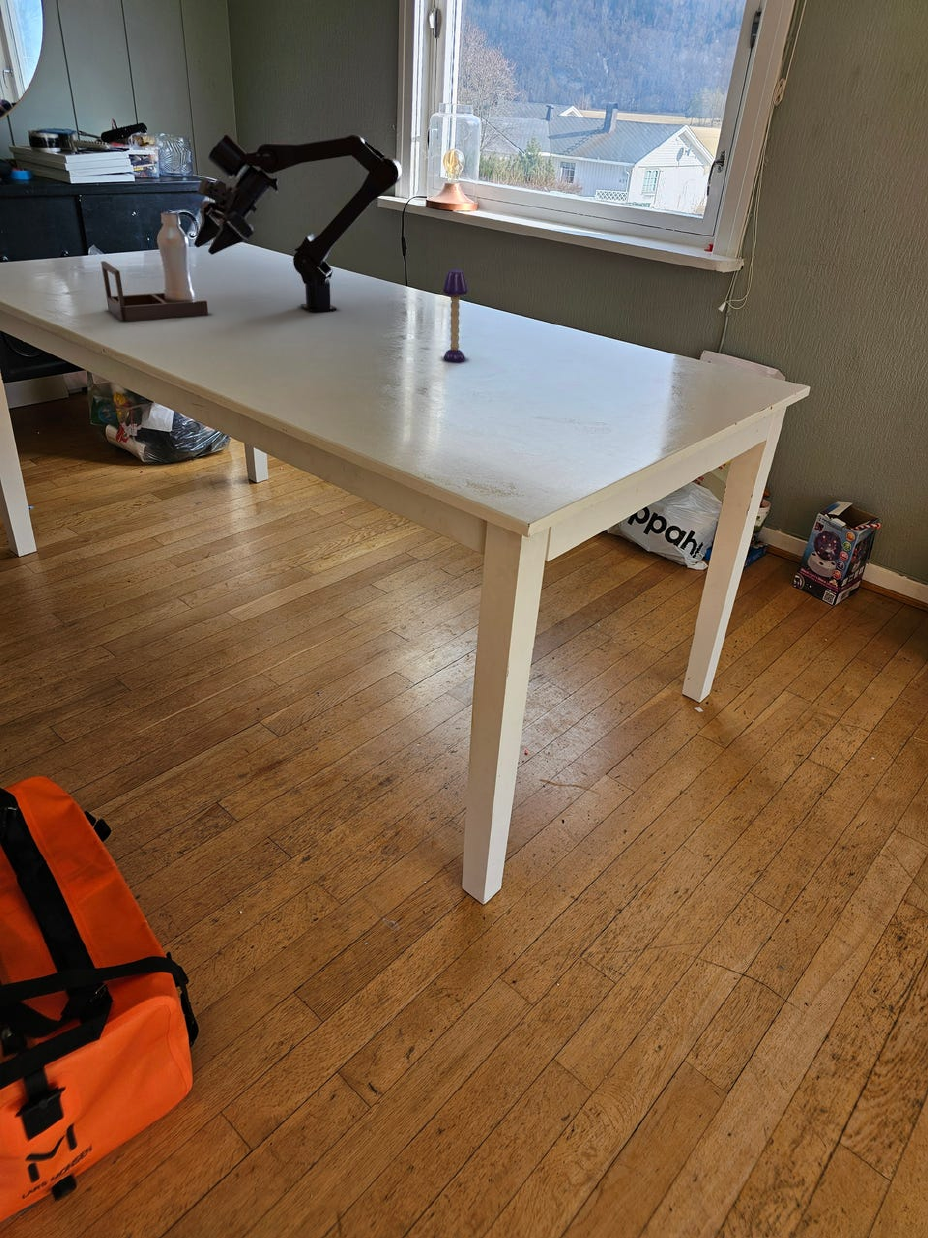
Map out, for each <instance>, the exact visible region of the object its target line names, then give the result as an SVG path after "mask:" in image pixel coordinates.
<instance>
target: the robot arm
mask: <svg viewBox="0 0 928 1238" xmlns="http://www.w3.org/2000/svg"><path fill="white" fill-rule="evenodd" d="M350 156H351V157H352V158H354V159H355V160H356V161H357V162H358V163H359V165H361V166H362V167H363V169H365V170H366V171H367V172H368V173H367V175H366V177H365V179H364V181H363V183H362V184H361V187H360V188H359V190H358V191H357V192H356V193H355V194H354V195H353V196H352V198H350V200H349V201H348V202H347V203H346V204H345V205H344V206H343V208H342V209H341V210H340V211H339V212H338V213H337V214H336V215H335V216H334V218H333V219H332V220H331V221H330V222H329V223H328V224H327V225H326V227H325V228H324V229H323V230H322V231H321V232H320V233H319V234H318V235H317V236H316V237H315V235H314V234H313V232H312V233H309V234H308V235H307V236H305V237H304V239H303V241H302V242H301V244H300V245H299V246H297V247H296V248H294V252H295V253H294V255H293V257H292V265H293V268H294V269H295V271H296V272H297V273H298V274H300V277H301V280H302V283H303V284H304V287H305V303H300V307H301V308H303V309H305V310H307V311H309V312H310V313H311V312H312V313H318V312H326V311H327V312H330V311H337V307H336V306H333V305H331V281H330V280H331V279H332V275H333V273H334V269H333V268H332V267H331V266H330V265H329V264H328V262H327V261H326V259H327V258H328V256H329V254H330V253H331V251H332V249H333V247H334V246H335V244H336V243H337V242H338V241H339V240H340V239H341V238H342V237H343V235H344V234H345V233H346V232H347V231H348V230H349V229H350V228H351V227H352V225H354V223H355V222H356V221H357V220H358V219H359V217H361V216H362V214H363V213H364V212H365V211H366V210H367V209H368V208H369V207H370V205H371V204H372V203H374V201H375V200H376V199H378V198H379V197H380V196H382V195H383V194H385V193H386V192H387V191H388V190H390V189H391V188H392V187H394V186H395V185H396V184H398V183H399V181H400V180H401V178H402V175H403V172H402V171H403V169H402V165H401V163H400V162H399V160H398V159H396V158H395V157H393V156H386V155H385V154H384V153H382V151H381V150H379V149H377V148H376V147H374V146H373V145H372V144H371V143H369V142H368V141H367V140H366V139H364V137H363V136H361V135H360V134H358V133H353V134H350V135H347V136H342V137H335V138H330V139H323V140H317V141H310V142H303V143H294V142H293V143H292V142H276V141H274V142H268V143H263V144H260V146H259V147H258V149H257V150H256V151H254V150H252V151H246V150H245V149H243V147H242V146H240V145H239V144H238V142H237V141H236V140H235V139H234V138H233V137H232V136H231V135H230V134H224V136H223V137H222V138H221V139H220V140H219V141H218V142H217V144H216V145H214V146H213V147H212V149H211V150H210V152H209V154H208V157H207V158H208V161H210V162H211V163H212V164H213V165H214V166H215V167H216V168H217V169H218V170H220V172H221V173H223V174H224V176H226V177H227V178H228V179H232V178H235V179H238V180H237V182H236V183H235V184H234V186H227V183H226V182H224V181H222V180H219V179H217V180H215V181H214V182H213V181H210V180H208V179H205V178H201V179H200V182H199V185H198V190H197V194H199V195H200V196H205V197H206V198H208V199H211V200H213V201H211V200H203V202H202V203H201V205H200V206H199V209H200V210H199V213H200V216H201V224H200V227H199V230H198V232H197V235H196V237H195V240H194V243H193V246H195V247H196V248H201V247H202V246H204V245H205V244H207V243H208V242H210V241H212V243H210V246H209V248H208V250H207V252H208V253H209V254H210V255H212V256H213V255H215V254H217V253H219V252H221V251H224V250H225V249H228V248H230V247H232V246H234V245H237V244H239V243H241V242H242V243H243V242H245V240H247V241H250V239H251V237H252V236H253V235H254V226H253V225H252V224H250V222H249V221H248V220H247V217H248V216H249V215H250V213H251V212H252V213H255V212H257V210H258V208H257V207H256V206H257V204H258V203H259V202H260V201H261V199H262V198H263V197H264V196H265V195H266V193H267V192H268V191H269V190H270V191H271V192H272V193H273V194H274V195H278V193H279V187H278V182H279V179H278V178H273V177H271V176H270V175H272V174H276V173H279V172H282V171H285V170H288V169H290V168H292V167H295V166H298V165H301V164H306V163H311V162H318V161H324V160H330V159H337V158H343V157H350ZM255 167H257V168H259V170H258V169H257V168H255ZM244 171H245V172H244ZM268 174H269V175H268ZM241 175H242V176H241ZM239 177H240V178H239Z"/></svg>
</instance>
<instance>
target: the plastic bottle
mask: <svg viewBox="0 0 928 1238" xmlns="http://www.w3.org/2000/svg"><path fill="white" fill-rule="evenodd" d="M160 217H161V218H160V222H161V224H162V227H161V228H160V229H159V232H158V234H157V238H156V242H157V245H158V250H159V254H160V259H161V262H162V267H163V274H164V292H163V293H164V295H165V302H167V303H176V302H190V301H197V298H196V294H195V290H194V288H193V284H192V278H191V274H190V259H189V257H190V256H189V255H190V241H189V238H188V236H187V234H186V233H185V230H184V229H182V227H181V226H180V225H181V218H180V213H178V212H161V213H160Z"/></svg>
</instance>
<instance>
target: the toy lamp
mask: <svg viewBox="0 0 928 1238" xmlns="http://www.w3.org/2000/svg"><path fill="white" fill-rule="evenodd" d="M442 291H443V292H442V293H443V294H445V295H448V296H450V300H451V302H450V309H451V310H450V321H449V323H450V328H449V329H450V338H449V339H450V346H449V347H450V349H448V350H447V351H446V352H445V353H444V355H443V360H444V361H446V362H450V363H461V362H464V361H465V360H466V357H465V354H464V353H463V351H462V350H460V343H459V341H460V335H459V333H460V327H459V326H460V308H461V307H460V305H461V304H460V300H461V296H464V295H467V294H468V286H467V281H466V278H465V273H464V271H463V270H461V269H449V270H448V271H447V274H446V276H445V281H444V285H443V289H442Z"/></svg>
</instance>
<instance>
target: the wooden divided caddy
mask: <svg viewBox="0 0 928 1238" xmlns="http://www.w3.org/2000/svg"><path fill="white" fill-rule="evenodd" d="M100 264H101V265H100V266H101V270H102V278H103V283H104V289H105V296H106V302H107V309H108V312H110V313H111V314H112V315H114V317H116V318H117V319H119V320H120V321H121V322H122V323H127V322H138V321H152V320H153V321H154V320H165V319H175V318H176V319H177V318H186V317H187V318H188V317H189V318H191V317H200V316H201V317H202V316H209V310H208V301H207V300H196V301H190V302H176V303H167V302H165V295H164V293H165V292H156V293H155V292H154V293H153V292H152V293H141V294H140V293H139V294H125V295H124V294H123V293H124V292H123V285H122V280H121V273H120V270H119V269H118V268H116V267H114V266H113V265H111V264H110V263H108V262H107V261H105V260H104V261H100ZM109 273H110V274H112V275H113V276H114V279H115V287H116V293H117V294H116V295H112V291H111V284H110V278H109Z"/></svg>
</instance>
